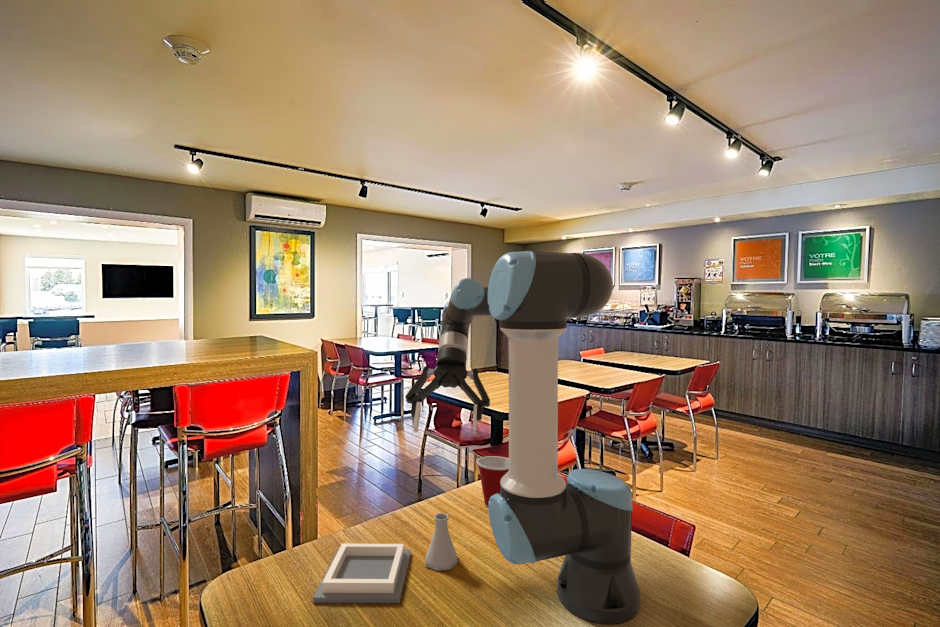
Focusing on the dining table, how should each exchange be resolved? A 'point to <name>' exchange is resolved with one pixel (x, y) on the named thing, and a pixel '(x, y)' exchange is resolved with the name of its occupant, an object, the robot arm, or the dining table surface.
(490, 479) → the plastic cup
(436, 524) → the flask
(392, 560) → the holder
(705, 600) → the dining table surface
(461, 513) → the dining table surface
